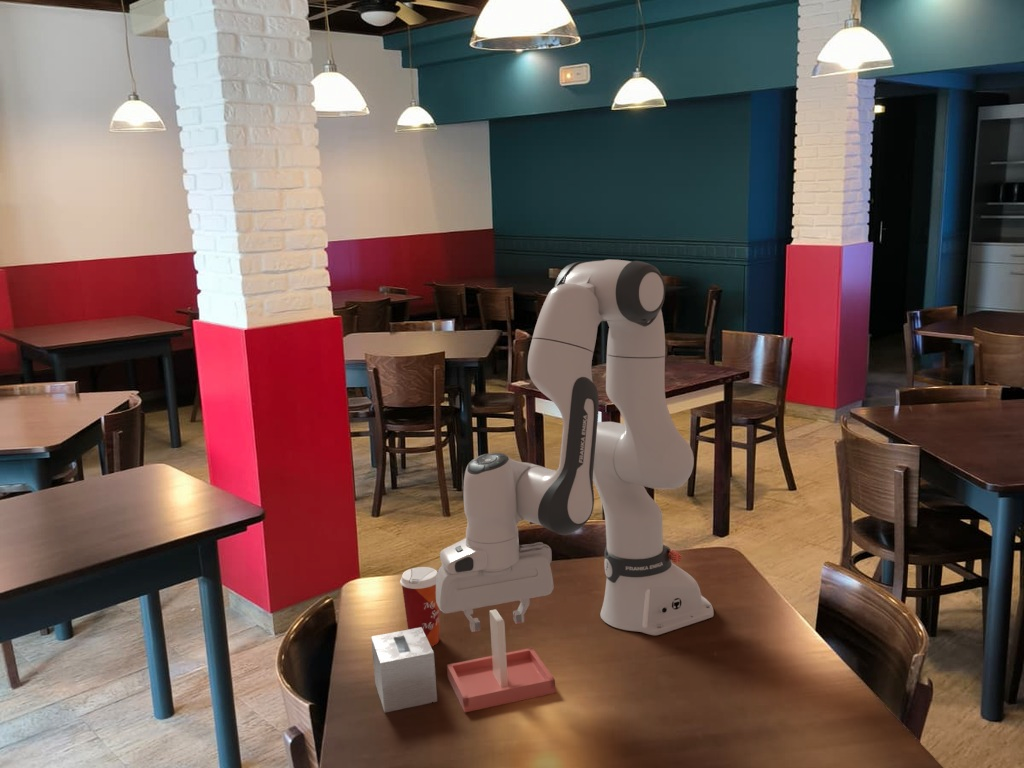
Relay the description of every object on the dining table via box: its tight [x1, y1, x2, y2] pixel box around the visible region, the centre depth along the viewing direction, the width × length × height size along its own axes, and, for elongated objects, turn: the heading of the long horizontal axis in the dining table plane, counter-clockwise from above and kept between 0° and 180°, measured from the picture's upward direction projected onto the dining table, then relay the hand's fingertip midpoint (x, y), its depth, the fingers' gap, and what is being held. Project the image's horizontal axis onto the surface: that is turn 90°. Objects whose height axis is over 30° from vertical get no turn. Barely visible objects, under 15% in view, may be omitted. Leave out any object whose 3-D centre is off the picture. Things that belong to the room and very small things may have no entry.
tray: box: [446, 647, 556, 713], centre depth 155 cm, size 16×12×2 cm
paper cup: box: [399, 566, 440, 648], centre depth 171 cm, size 8×8×14 cm
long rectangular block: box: [489, 608, 508, 688], centre depth 154 cm, size 1×5×12 cm, turn 17°
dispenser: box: [370, 627, 438, 713], centre depth 153 cm, size 9×10×9 cm
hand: (497, 625), depth 153 cm, fingers open, 6 cm apart
